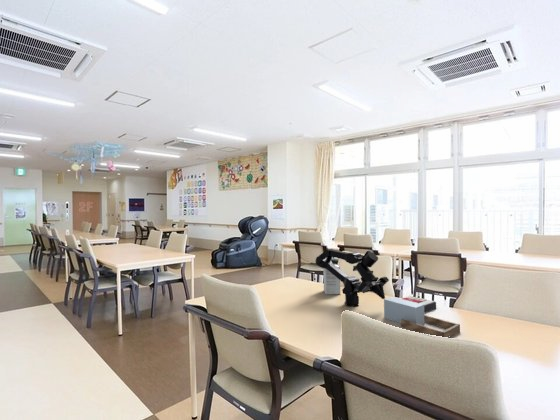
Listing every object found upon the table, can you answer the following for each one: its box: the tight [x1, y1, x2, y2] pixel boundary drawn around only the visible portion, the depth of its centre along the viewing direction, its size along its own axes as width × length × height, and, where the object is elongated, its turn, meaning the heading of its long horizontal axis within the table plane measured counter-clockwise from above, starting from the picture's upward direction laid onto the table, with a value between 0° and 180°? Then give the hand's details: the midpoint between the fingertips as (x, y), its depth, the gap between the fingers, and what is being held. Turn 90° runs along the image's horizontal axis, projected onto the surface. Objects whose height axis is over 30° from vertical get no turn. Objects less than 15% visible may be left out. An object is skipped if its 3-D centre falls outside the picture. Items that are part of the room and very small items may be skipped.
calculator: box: [401, 295, 437, 313], centre depth 162 cm, size 11×4×15 cm
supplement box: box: [322, 264, 341, 295], centre depth 191 cm, size 10×9×17 cm
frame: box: [400, 314, 461, 338], centre depth 132 cm, size 18×14×3 cm
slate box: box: [383, 296, 425, 326], centre depth 142 cm, size 16×7×9 cm, turn 37°
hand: (384, 298), depth 150 cm, fingers closed
